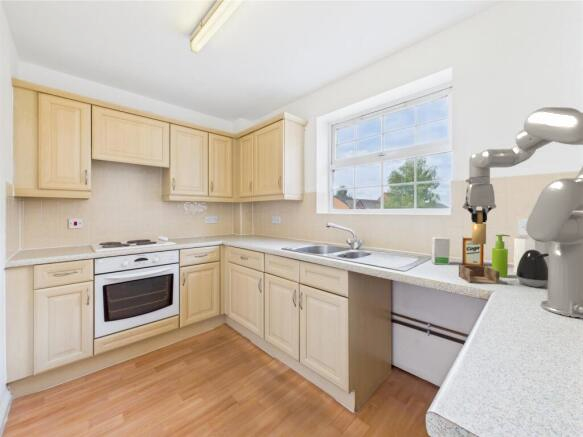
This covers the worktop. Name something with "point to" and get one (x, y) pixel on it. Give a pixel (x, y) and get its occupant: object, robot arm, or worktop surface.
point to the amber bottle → (479, 229)
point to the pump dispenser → (533, 269)
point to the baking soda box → (472, 252)
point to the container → (528, 248)
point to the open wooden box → (479, 274)
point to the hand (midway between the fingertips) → (479, 222)
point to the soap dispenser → (500, 257)
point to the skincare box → (440, 250)
